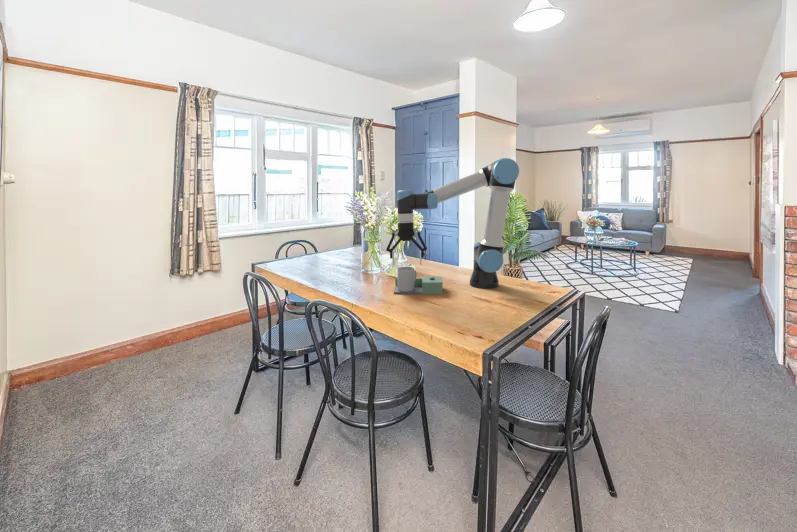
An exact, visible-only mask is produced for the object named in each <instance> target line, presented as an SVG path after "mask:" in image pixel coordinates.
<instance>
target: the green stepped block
mask: <svg viewBox="0 0 797 532" xmlns="http://www.w3.org/2000/svg"><path fill="white" fill-rule="evenodd" d="M442 278H443V277H442V276H433V275H432V276H430V275H429V276H426V275H425V276H424V275H423V276H422V277H416V281H415V282H414V290H413V291H410V292H402V291H398V277H395V280H394V281H395V283H394V284H395V285H394V290H393V295H443V287H444V286H443V279H442Z"/></svg>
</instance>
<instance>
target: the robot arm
mask: <svg viewBox="0 0 797 532" xmlns="http://www.w3.org/2000/svg"><path fill="white" fill-rule="evenodd" d="M519 175H520V168H519V165H518V163H517V162H516V161H515V160H514V159H512V158H507V157H502V158H499V159H497V160H495V161H494V162H492V163H490V164H489V165H487V166H485V167H482V168H480V169H479V171H478V172H475V173H473V174H469V175H467V176H464V177H462V178H459V179H457V180H454V181H452V182H448V183H446V184H444V185H441V186H438V187H436V188H434V189H431V190H428V191H425V192H423V193H414V191H413V190H412V189H403V190H398V191H397V195H396V198H397V201H396V202H397V205H396V206H397V221H398V223H397V226H398V230H397V232H396V231H392V233H391V238H390V240H389V242H388V244H387V247H386V249H385V250H386V252H389V257H390V259H392V266H395V265H396V263H395V251H394V250H395V249H396V247H398V245H399V244H400V243H401V242H402V241H403V242H406V241H407V242H410V241H412V243H414V245H415V246H416V247H417V248H418V249H419V265H422V258H424V257H425V255H424V251H425V252H426V251H427V250H428V247H427V245H426V243H425V241H424V239H423V237H422V235H421V232H420V231H414V230H415V229H414V210H415V211H416V210H434V209H435V210H436V209H438V206H439V205H438V204H440V203H443V202H446V201H448V200H451V199H453V198H456V197H459V196H462V195H464V194H466V193H469V192H472V191H474V190H477V189H480V188H482V187H486V188H488V187H489V188H490V191H491V193H490V197H489V198H490V199H489V205H488V210H487V216H486V223H485V228H484V235H483V240H481V241H480V242H478V241H477V242H474V245H473V270H472V273H471V276H470V278H469V286H471V287H474V288H478V289H494V288H498V287H499V283H500V281H499V278H498V275H497V271H499V270H500V269H502V267H503V264H504V255H503V254H504V248H505V245H504V244H503V242H502V240H503V233H504V230H505V229H504V228H505V224H506V219H507V218H506V217H507V212H508V206H509V201H510V200H509V199H510V196H511V195H510V194H511V192H513V190H515V186H516V185H515V184H516V181H517V179H518V177H519ZM397 236H398V237H399V238H398V239H397V241H396V242H395V244H394V245H393V246H392V244H393V241H394V240H395V238H396V237H397ZM415 236H416V237H418V240H419V242H420V244H421V245H422V246H421V245H420V244H419V242H418V241H417V240H416V239H415ZM391 246H392V247H391Z"/></svg>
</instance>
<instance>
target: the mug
mask: <svg viewBox="0 0 797 532" xmlns="http://www.w3.org/2000/svg"><path fill="white" fill-rule="evenodd" d="M397 278H398V291H402V292H410V291H413V290H414V282H415V281H416V278H418V277H417V271H416V270H415V268H414V267H412V266H400V267H397Z"/></svg>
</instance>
